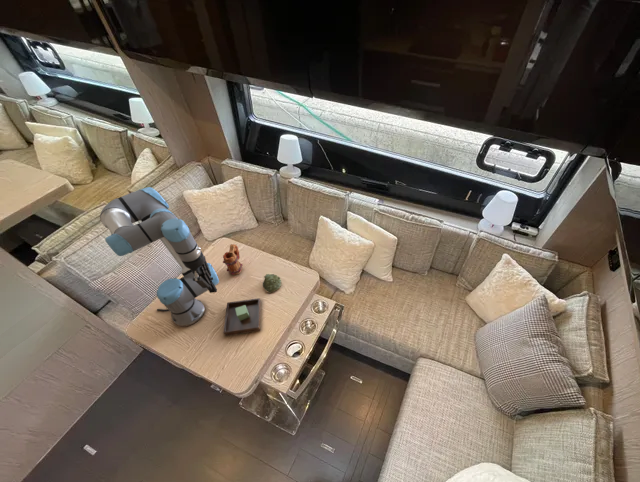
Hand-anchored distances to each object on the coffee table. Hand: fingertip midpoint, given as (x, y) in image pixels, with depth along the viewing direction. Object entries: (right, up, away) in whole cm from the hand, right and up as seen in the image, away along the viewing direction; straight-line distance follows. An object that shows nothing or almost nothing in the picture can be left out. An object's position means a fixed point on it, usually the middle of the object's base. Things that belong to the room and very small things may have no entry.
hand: (213, 291), depth 122 cm
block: (+5, -15, +21) cm, 26 cm away
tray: (+5, -16, +21) cm, 27 cm away
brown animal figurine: (-8, +10, +43) cm, 45 cm away
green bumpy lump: (+15, 0, +36) cm, 39 cm away
